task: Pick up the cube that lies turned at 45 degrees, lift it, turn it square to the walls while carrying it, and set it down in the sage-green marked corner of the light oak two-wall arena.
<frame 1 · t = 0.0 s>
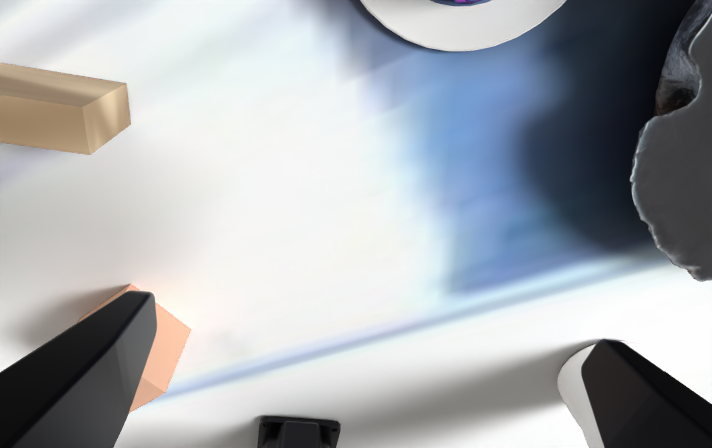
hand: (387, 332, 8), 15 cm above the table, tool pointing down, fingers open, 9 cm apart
water bottle: (598, 366, 32), on the table
cube: (136, 323, 28), on the table
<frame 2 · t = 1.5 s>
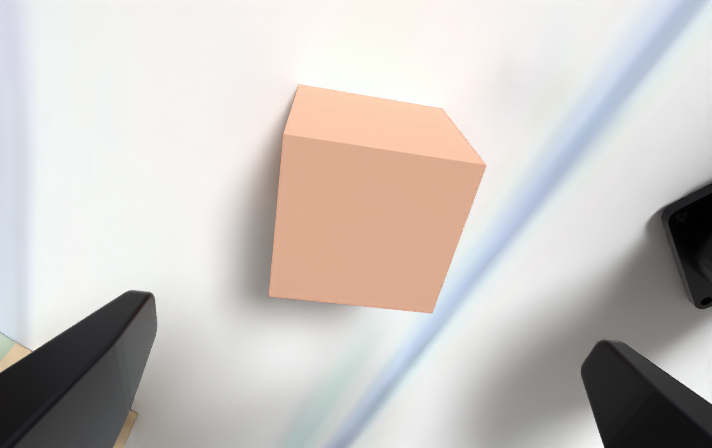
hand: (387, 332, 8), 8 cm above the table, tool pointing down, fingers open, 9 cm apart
cube: (359, 163, 15), on the table
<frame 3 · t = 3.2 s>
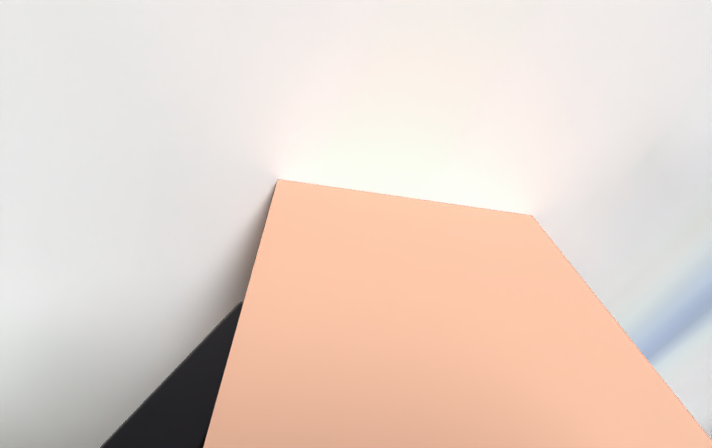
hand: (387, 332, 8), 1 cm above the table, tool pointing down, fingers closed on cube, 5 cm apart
cube: (382, 297, 9), on the table, touching gripper
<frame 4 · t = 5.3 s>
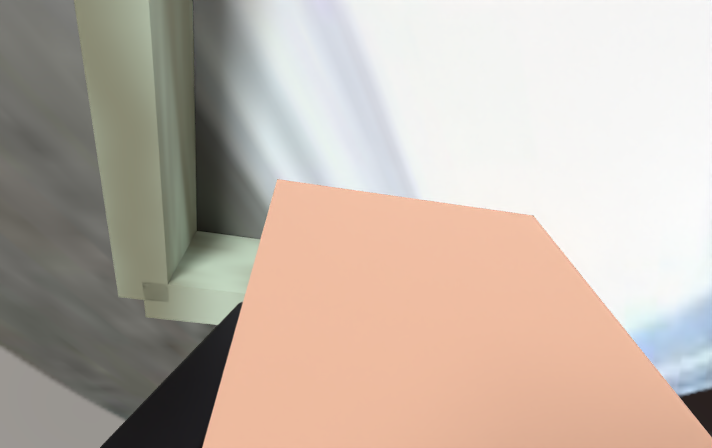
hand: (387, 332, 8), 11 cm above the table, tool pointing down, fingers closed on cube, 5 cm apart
cube: (382, 297, 9), point 10 cm above the table, touching gripper
arena: (338, 135, 18), on the table
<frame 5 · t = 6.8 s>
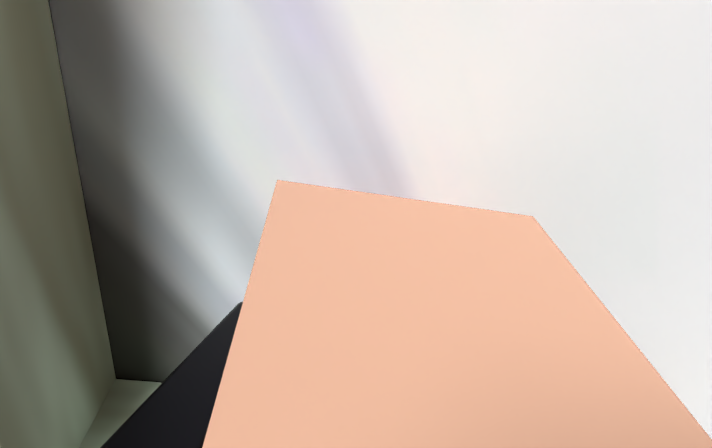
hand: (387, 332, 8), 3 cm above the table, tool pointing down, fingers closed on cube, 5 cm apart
cube: (382, 298, 9), point 2 cm above the table, touching gripper
arena: (335, 245, 11), on the table
when the fingers open (2 cm above the table, at t = 7.8 s): cube drops 1 cm, on the table.
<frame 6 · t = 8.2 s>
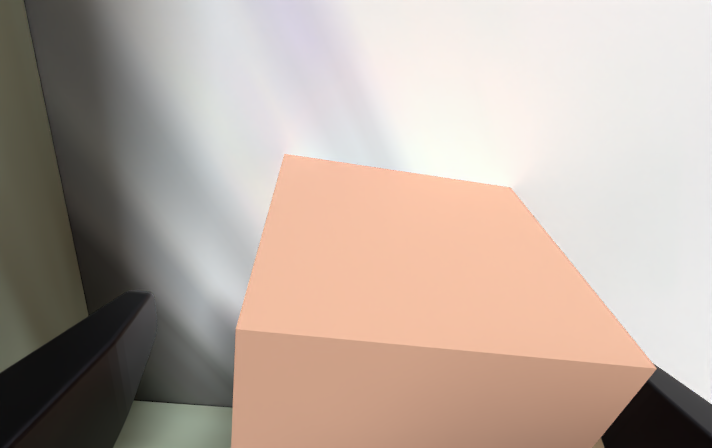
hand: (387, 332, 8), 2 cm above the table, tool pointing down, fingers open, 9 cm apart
cube: (377, 261, 10), on the table
arena: (336, 261, 10), on the table
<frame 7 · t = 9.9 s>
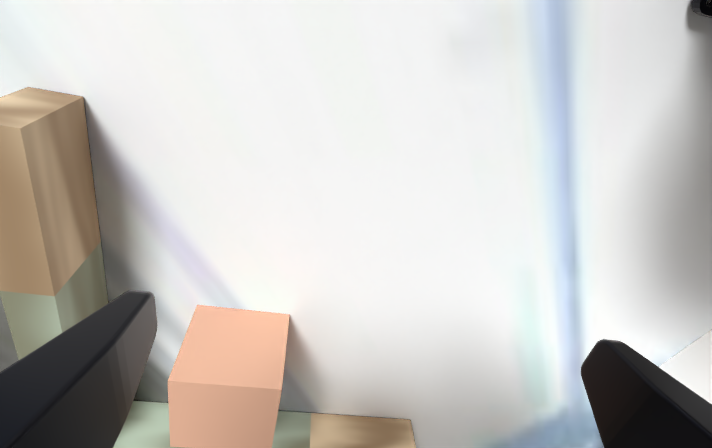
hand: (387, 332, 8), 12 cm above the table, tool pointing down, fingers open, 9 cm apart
cube: (241, 340, 24), on the table
arena: (223, 341, 24), on the table
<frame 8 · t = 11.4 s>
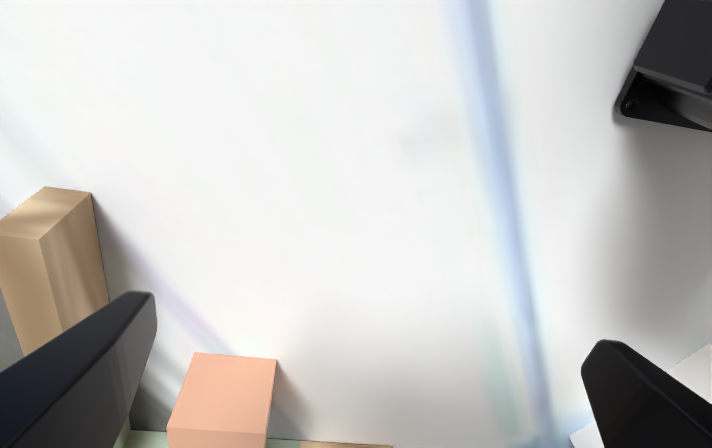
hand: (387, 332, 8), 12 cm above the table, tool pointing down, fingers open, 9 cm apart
cube: (235, 380, 27), on the table
arena: (218, 381, 27), on the table
milk: (678, 415, 31), on the table
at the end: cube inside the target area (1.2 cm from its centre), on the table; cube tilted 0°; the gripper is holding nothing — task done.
